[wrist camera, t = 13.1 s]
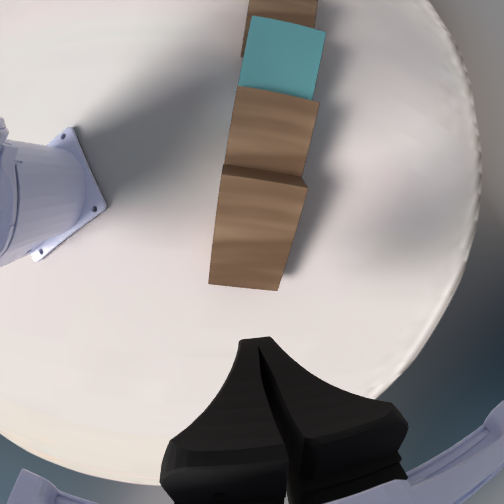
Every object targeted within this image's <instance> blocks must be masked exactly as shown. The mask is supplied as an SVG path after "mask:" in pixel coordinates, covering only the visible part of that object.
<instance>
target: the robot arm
mask: <svg viewBox="0 0 504 504" xmlns="http://www.w3.org/2000/svg"><path fill="white" fill-rule="evenodd" d="M8 134H9V130H8V129H7V128H6V124H5V121H4V119H3V118H1V117H0V267H2V266H4V265H6V264H8V263H11V262H13V261H15V260H17V259H19V258H21V257H24V256H26V255H28V254H30V255H31V257H32V259H33V260H34V261H35V262H38V261H40V260H41V259H42V258H44V257H45V256H46V255H47V254H48V253H49V252H51V251H52V250H53V249H54V248H55V247H57V246H58V245H59V244H60V243H62V242H63V241H64V240H65V239H67V238H68V237H69V236H71V235H72V234H73V233H74V232H76V231H77V230H78V229H80V228H81V227H82V226H84V225H85V224H86V223H88V222H89V221H90V220H92V219H93V218H95V217H96V216H97V215H99V214H100V213H102V212H103V211H104V210H105V209H106V202H105V200H104V198H103V196H102V194H101V191H100V189H99V187H98V185H97V183H96V181H95V179H94V176H93V174H92V172H91V170H90V167H89V165H88V163H87V161H86V158H85V156H84V153H83V151H82V149H81V146H80V144H79V141H78V139H77V136H76V134H75V131H74V129H73V128H71V127H68V128H66V129H65V130H64V131H62V132H61V133H60V134H59V135H58V136H57V137H55V138H54V139H53V140H52V141H51V142H50V143H49V144H48V145H47V146H44V145H38V144H32V143H26V142H20V141H13V140H6V139H7V136H8ZM65 134H66V137H65V139H63V137H64V135H65ZM95 206H96V207H97V212H95V211H94V207H95ZM42 250H43V253H42ZM407 431H408V423H407V421H406V420H405V418H404V417H403V416H402V414H401V413H400V412H399V410H398V409H397V408H396V407H395V406H394V405H393V404H392V403H390V402H384V401H379V400H374V399H369V398H365V397H362V396H359V395H355V394H352V393H349V392H347V391H344V390H342V389H339V388H337V387H335V386H333V385H330V384H328V383H327V382H325V381H323V380H321V379H319V378H318V377H316V376H314V375H313V374H311V373H310V372H308V371H307V370H306V369H304V368H303V367H302V366H300V365H299V364H298V363H297V362H296V361H294V360H293V359H292V358H291V357H290V356H289V355H288V354H287V353H286V352H284V351H283V350H282V348H281V347H280V346H279V345H278V344H277V343H276V342H275V341H274V340H273V339H272V338H271V337H270V336H269V337H261V338H252V339H242V340H240V341H239V346H238V351H237V355H236V358H235V361H234V363H233V366H232V368H231V371H230V373H229V375H228V377H227V379H226V381H225V383H224V384H223V386H222V388H221V389H220V391H219V392H218V394H217V395H216V397H215V398H214V399H213V401H212V402H211V403H210V405H209V406H208V407H207V408H206V409H205V411H204V412H203V413H202V414H201V415H200V416H199V417H198V418H197V419H196V420H195V421H194V422H193V423H192V424H191V425H189V426H188V427H187V428H186V429H185V430H183V431H182V432H181V433H179V434H178V435H177V436H175V437H174V438H173V439H171V440H170V442H169V444H168V446H167V449H166V451H165V454H164V457H163V461H162V465H161V473H160V484H161V486H162V487H163V489H164V490H165V491H166V492H167V494H168V495H169V496H170V497H171V499H172V500H173V501H174V504H284V498H285V497H286V491H287V496H288V501H289V504H461V503H463V502H464V501H465V500H466V499H468V498H469V497H470V496H472V495H473V494H474V493H475V492H476V491H478V490H479V489H480V488H481V487H482V486H484V485H485V484H486V483H487V482H488V481H489V480H490V479H491V478H492V477H494V476H495V475H496V474H497V473H498V472H499V471H500V470H501V469H502V468H503V467H504V400H503V401H502V402H501V403H500V404H499V405H498V406H496V407H495V408H494V409H493V410H492V411H491V413H490V414H489V415H488V417H487V418H486V420H485V422H484V424H483V425H482V426H480V427H479V428H478V429H476V430H475V431H474V432H472V433H471V434H470V435H468V436H467V437H466V438H464V439H463V440H461V441H460V442H458V443H457V444H455V445H454V446H452V447H451V448H449V449H448V450H446V451H444V452H443V453H441V454H439V455H438V456H436V457H434V458H433V459H431V460H429V461H427V462H426V463H424V464H422V465H420V466H418V467H416V468H414V469H412V470H411V471H408V472H406V473H405V471H404V470H403V468H402V467H401V465H400V463H399V462H400V461H401V456H400V455H399V453H398V449H399V447H400V446H401V444H402V442H403V440H404V438H405V436H406V433H407ZM7 504H99V503H95V502H92V501H88V500H85V499H82V498H79V497H76V496H73V495H70V494H67V493H64V492H62V491H59V490H58V489H57V488H56V487H55V486H54V485H53V484H52V483H51V482H49V481H48V480H46V479H45V478H43V477H41V476H39V475H36V474H34V473H32V472H30V471H28V470H26V469H22V470H21V472H20V474H19V476H18V479H17V481H16V483H15V485H14V488H13V490H12V492H11V495H10V497H9V500H8V502H7Z"/></svg>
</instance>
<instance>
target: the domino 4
mask: <svg viewBox="0 0 504 504" xmlns="http://www.w3.org/2000/svg"><path fill="white" fill-rule="evenodd" d="M307 191H308V187H307V186H306V184H305V182H304V181H303V179H302V178H301V177H299V176H293V175H288V174H283V173H277V172H271V171H265V170H259V169H252V168H246V167H239V166H231V165H224V164H223V169H222V175H221V182H220V189H219V196H218V204H217V212H216V220H215V228H214V236H213V245H212V253H211V263H210V272H209V282H208V284H213V285H222V286H232V287H241V288H251V289H261V290H272V291H278V288H279V284H280V281H281V278H282V275H283V272H284V269H285V265H286V262H287V259H288V256H289V252H290V249H291V246H292V242H293V239H294V236H295V232H296V229H297V226H298V222H299V219H300V215H301V212H302V208H303V205H304V201H305V198H306V194H307Z"/></svg>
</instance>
